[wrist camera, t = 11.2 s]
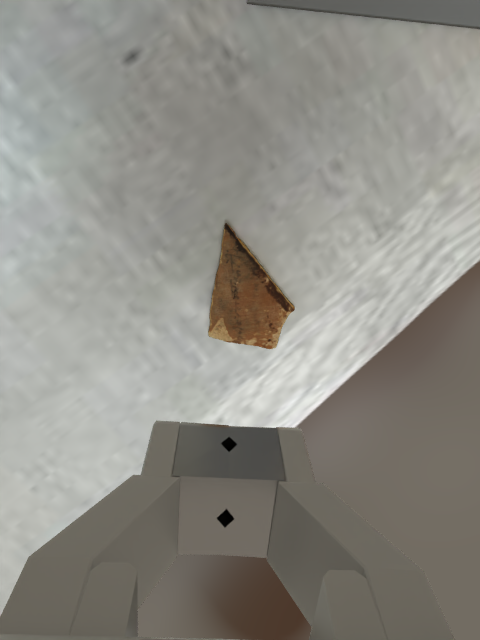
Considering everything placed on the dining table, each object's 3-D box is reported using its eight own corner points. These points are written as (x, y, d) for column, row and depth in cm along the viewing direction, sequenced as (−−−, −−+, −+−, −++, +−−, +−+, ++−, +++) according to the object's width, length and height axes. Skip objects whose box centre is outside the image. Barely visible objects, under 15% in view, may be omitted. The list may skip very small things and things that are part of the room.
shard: (225, 219, 39) (225, 223, 37) (310, 235, 40) (313, 240, 38) (205, 331, 43) (204, 339, 41) (282, 344, 44) (284, 352, 42)
